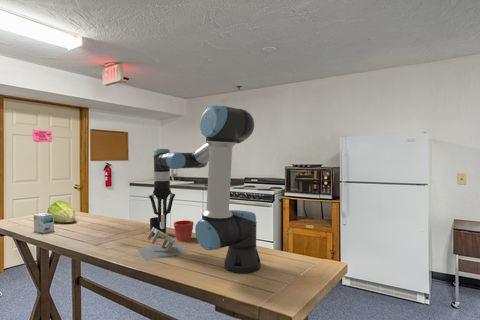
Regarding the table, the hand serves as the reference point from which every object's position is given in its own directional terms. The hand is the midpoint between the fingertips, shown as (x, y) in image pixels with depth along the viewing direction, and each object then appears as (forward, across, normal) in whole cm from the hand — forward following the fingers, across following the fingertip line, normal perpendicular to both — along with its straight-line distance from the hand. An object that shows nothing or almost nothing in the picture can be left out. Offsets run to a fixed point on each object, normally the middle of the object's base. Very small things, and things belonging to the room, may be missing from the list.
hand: (162, 228), depth 145 cm
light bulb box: (+12, +55, -77) cm, 95 cm away
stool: (+8, -3, 0) cm, 9 cm away
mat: (+11, 0, +1) cm, 11 cm away
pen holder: (+11, -5, -31) cm, 33 cm away
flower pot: (+11, -16, -14) cm, 24 cm away
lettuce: (+12, +45, -103) cm, 113 cm away
